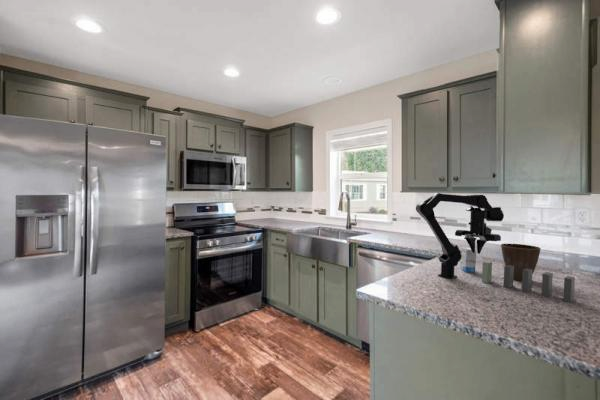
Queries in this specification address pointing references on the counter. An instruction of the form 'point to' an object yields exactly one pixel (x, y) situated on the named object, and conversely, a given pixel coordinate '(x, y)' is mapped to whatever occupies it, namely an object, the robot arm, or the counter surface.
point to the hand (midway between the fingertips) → (476, 253)
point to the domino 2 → (527, 280)
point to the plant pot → (520, 257)
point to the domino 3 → (547, 284)
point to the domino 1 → (508, 276)
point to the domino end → (569, 289)
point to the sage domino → (486, 271)
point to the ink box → (468, 260)
